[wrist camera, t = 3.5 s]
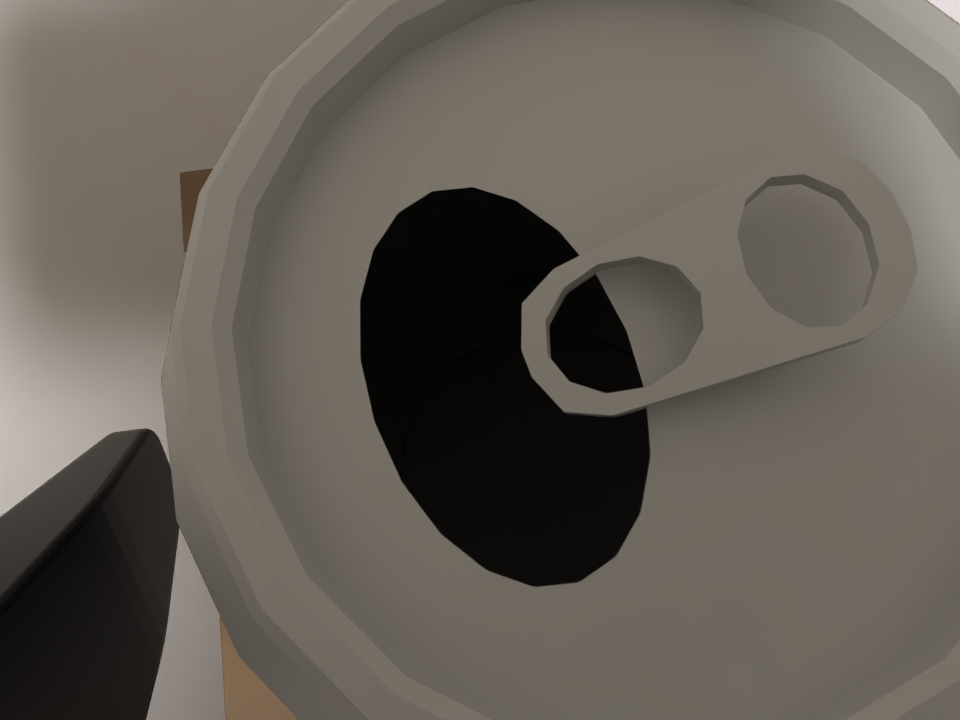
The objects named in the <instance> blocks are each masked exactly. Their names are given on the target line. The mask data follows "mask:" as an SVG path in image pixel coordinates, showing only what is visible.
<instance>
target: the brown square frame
mask: <svg viewBox="0 0 960 720" xmlns="http://www.w3.org/2000/svg"><path fill="white" fill-rule="evenodd" d="M212 170H213V169H206V170H199V171H191V172H183V173H180V184H181V203H182V222H183V241H184V251H185V252H187V248H188V243H189V238H190V234H191V229H192V224H193V220H194V215H195V210H196V205H197V201H198V196H199V193H200V191H201V189H202V187H203V186H204V184H205V182H206V181H207V179H208V177H209V175H210V174H211V172H212ZM220 629H221V646H222V664H223V681H224V699H225V716H226V720H298V719H297V718H296V717H295V715H294V714H293V713H292V712H291V711H290V710H289V709H288V708H287V707H286V706H285V705H284V704H283V703H282V702H281V701H280V700H279V699H278V697H277V696H276V695H275V694H274V693H273V692H272V691H271V690H270V689H269V688H268V687H267V686H266V685H265V684H264V683H263V682H262V680H261V679H260V678H259V677H258V676H257V675H256V674H255V673H254V672H253V671H252V670H251V669H250V668H249V667H248V666H247V665H246V664H245V662H244V661H243V660H242V659H241V658H240V657H239V655H238V653H237V651H236V649H235V647H234V645H233V642H232V640H231V638H230V636H229V634H228V632H227V629H226V627H225V625H224V623H223V621H222V618H221V616H220Z"/></svg>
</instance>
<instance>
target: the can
mask: <svg viewBox="0 0 960 720" xmlns="http://www.w3.org/2000/svg"><path fill="white" fill-rule="evenodd" d="M161 383H162V392H163V401H164V410H165V419H166V429H167V438H168V447H169V456H170V466H171V475H172V484H173V493H174V502H175V512H176V520H177V523H178V525H179V527H180V529H181V531H182V533H183V536H184V538H185V540H186V542H187V544H188V547H189V549H190V551H191V553H192V555H193V557H194V560H195V562H196V564H197V566H198V568H199V571H200V573H201V575H202V577H203V579H204V581H205V584H206V586H207V588H208V590H209V592H210V594H211V597H212V599H213V601H214V603H215V605H216V608H217V610H218V612H219V614H220V616H221V618H222V621H223V623H224V625H225V627H226V629H227V632H228V634H229V636H230V638H231V640H232V642H233V645H234V647H235V649H236V651H237V653H238V655H239V657H240V658H241V659H242V660H243V661H244V662H245V664H246V665H247V666H248V667H249V668H250V669H251V670H252V671H253V672H254V673H255V674H256V675H257V676H258V677H259V678H260V679H261V680H262V682H263V683H264V684H265V685H266V686H267V687H268V688H269V689H270V690H271V691H272V692H273V693H274V694H275V695H276V696H277V697H278V699H279V700H280V701H281V702H282V703H283V704H284V705H285V706H286V707H287V708H288V709H289V710H290V711H291V712H292V713H293V714H294V715H295V717H296V718H297V719H298V720H960V24H959V23H958V22H957V21H955V20H954V19H952V18H951V17H950V16H948V15H947V14H945V13H944V12H943V11H941V10H940V9H939V8H937V7H936V6H934V5H933V4H932V3H930V2H929V1H927V0H349V1H347V2H346V3H345V4H344V5H343V6H342V7H341V8H340V9H339V10H338V11H337V12H336V13H334V14H333V15H332V16H331V17H330V18H329V19H328V20H327V21H326V22H325V23H324V24H323V25H321V26H320V27H319V28H318V29H317V30H316V31H315V32H314V33H313V34H312V35H311V36H310V37H308V38H307V39H306V40H305V41H304V42H303V43H302V44H301V45H300V46H299V47H298V48H297V49H296V50H294V51H293V52H292V53H291V54H290V55H289V56H288V57H287V58H286V59H285V60H284V61H283V62H281V63H280V64H279V65H278V66H277V67H276V68H275V69H274V70H273V71H272V72H271V73H270V74H268V75H267V76H266V78H265V80H264V82H263V83H262V85H261V87H260V89H259V90H258V92H257V94H256V96H255V97H254V99H253V101H252V102H251V104H250V106H249V108H248V109H247V111H246V113H245V115H244V116H243V118H242V120H241V122H240V123H239V125H238V127H237V128H236V130H235V132H234V134H233V135H232V137H231V139H230V141H229V142H228V144H227V146H226V148H225V149H224V151H223V153H222V155H221V156H220V158H219V160H218V161H217V163H216V165H215V167H214V168H213V170H212V172H211V174H210V175H209V177H208V179H207V181H206V182H205V184H204V186H203V187H202V189H201V191H200V193H199V196H198V201H197V205H196V210H195V215H194V220H193V224H192V229H191V234H190V238H189V243H188V248H187V252H186V257H185V262H184V267H183V271H182V276H181V281H180V285H179V290H178V295H177V300H176V304H175V309H174V314H173V318H172V323H171V328H170V338H169V343H168V348H167V352H166V357H165V362H164V367H163V371H162V376H161Z"/></svg>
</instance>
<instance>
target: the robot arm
mask: <svg viewBox="0 0 960 720" xmlns="http://www.w3.org/2000/svg"><path fill="white" fill-rule="evenodd" d="M178 534H179V525H178V523H177V520H176V512H175V502H174V493H173V484H172V475H171V467H170V465H169V462H168V460H167V457H166V455H165V452H164V450H163V447H162V445H161V442H160V440H159V438H158V436H157V435H156V434H155V432H153V431H152V430H150V429H146V428H145V429H136V430H129V431H121V432H114V433H111V434H109V435H107V436H106V437H105V438H103V439H102V440H101V441H99V442H98V443H97V444H95V445H94V446H93V447H91V448H90V449H89V450H88V451H86V452H85V453H84V454H82V455H81V456H80V457H78V458H77V459H76V460H74V461H73V462H72V463H70V464H69V465H68V466H67V467H65V468H64V469H63V470H61V471H60V472H59V473H57V474H56V475H55V476H53V477H52V478H51V479H49V480H48V481H47V482H45V483H44V484H43V485H42V486H40V487H39V488H38V489H36V490H35V491H34V492H32V493H31V494H30V495H28V496H27V497H26V498H24V499H23V500H22V501H21V502H19V503H18V504H17V505H15V506H14V507H13V508H11V509H10V510H9V511H7V512H6V513H5V514H3V515H2V516H1V517H0V720H146V717H147V713H148V709H149V705H150V701H151V697H152V693H153V689H154V685H155V681H156V677H157V673H158V669H159V665H160V660H161V656H162V651H163V646H164V642H165V636H166V629H167V623H168V615H169V607H170V599H171V591H172V583H173V574H174V566H175V558H176V550H177V542H178Z"/></svg>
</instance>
